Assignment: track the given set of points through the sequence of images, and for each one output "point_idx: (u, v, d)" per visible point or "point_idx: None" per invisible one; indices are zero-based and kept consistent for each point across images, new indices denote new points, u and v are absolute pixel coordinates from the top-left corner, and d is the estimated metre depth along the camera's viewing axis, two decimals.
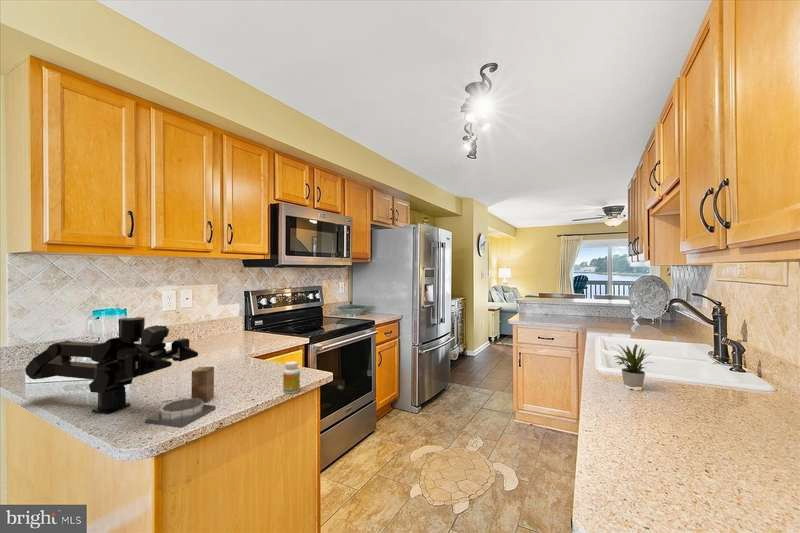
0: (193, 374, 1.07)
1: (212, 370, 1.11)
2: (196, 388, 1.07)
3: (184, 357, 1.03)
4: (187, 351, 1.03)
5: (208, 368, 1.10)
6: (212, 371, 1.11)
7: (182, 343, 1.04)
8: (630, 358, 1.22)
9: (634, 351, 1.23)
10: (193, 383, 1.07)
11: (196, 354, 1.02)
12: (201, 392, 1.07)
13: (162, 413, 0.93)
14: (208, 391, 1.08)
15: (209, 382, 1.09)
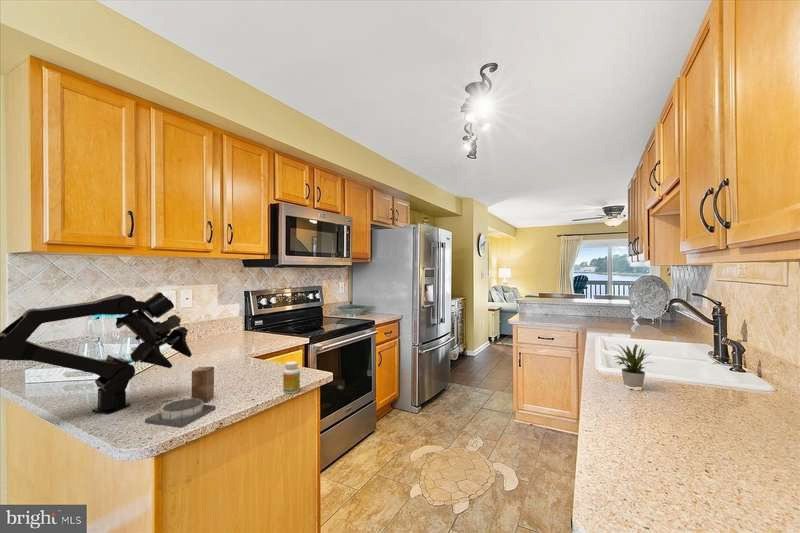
0: (193, 374, 1.07)
1: (212, 370, 1.11)
2: (196, 388, 1.07)
3: (177, 348, 1.13)
4: (183, 347, 1.13)
5: (208, 368, 1.10)
6: (212, 371, 1.11)
7: (183, 336, 1.13)
8: (630, 358, 1.22)
9: (634, 351, 1.23)
10: (193, 383, 1.07)
11: (190, 355, 1.13)
12: (201, 392, 1.07)
13: (162, 413, 0.93)
14: (208, 391, 1.08)
15: (209, 382, 1.09)
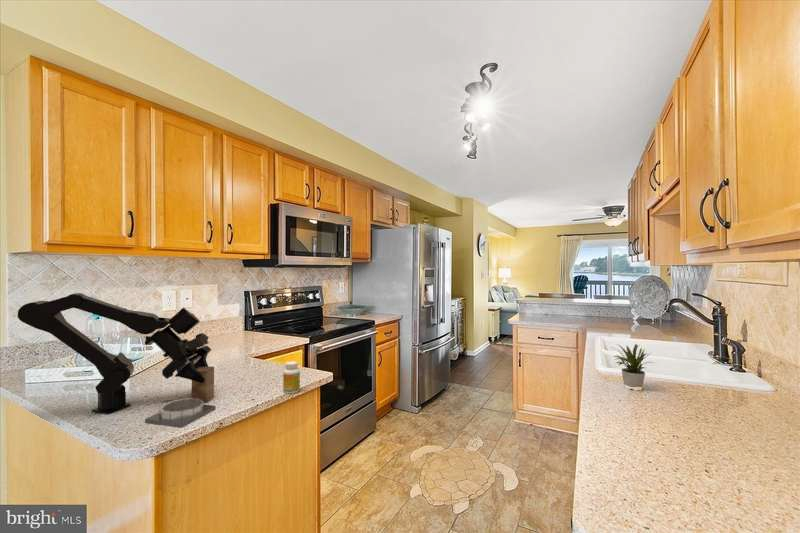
0: None
1: (212, 369, 1.11)
2: (196, 388, 1.07)
3: None
4: None
5: (208, 368, 1.10)
6: (212, 371, 1.11)
7: (204, 356, 1.13)
8: (630, 358, 1.22)
9: (634, 351, 1.23)
10: (193, 383, 1.07)
11: None
12: (201, 392, 1.07)
13: (162, 413, 0.93)
14: (208, 391, 1.08)
15: (210, 382, 1.09)
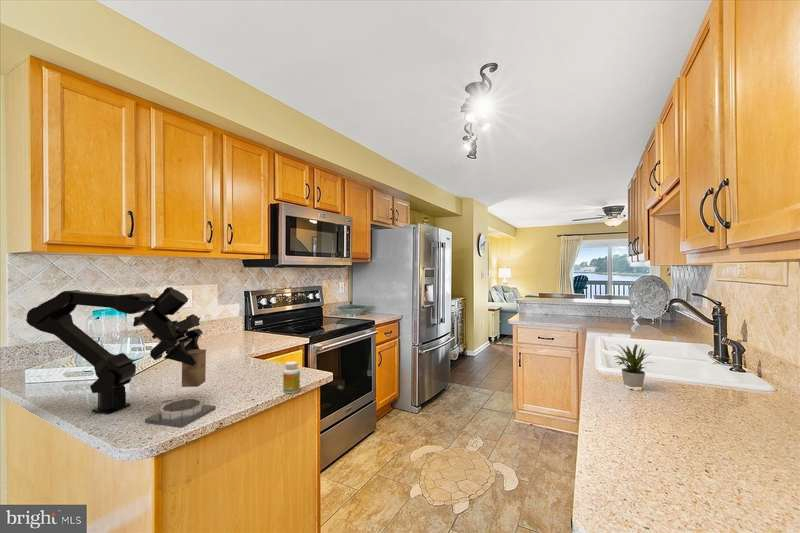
0: None
1: (204, 352, 1.06)
2: (186, 371, 1.02)
3: None
4: None
5: (200, 351, 1.05)
6: (204, 354, 1.06)
7: (195, 339, 1.08)
8: (630, 358, 1.22)
9: (634, 351, 1.23)
10: (183, 366, 1.02)
11: None
12: (192, 375, 1.02)
13: (162, 413, 0.93)
14: (199, 374, 1.03)
15: (201, 365, 1.04)
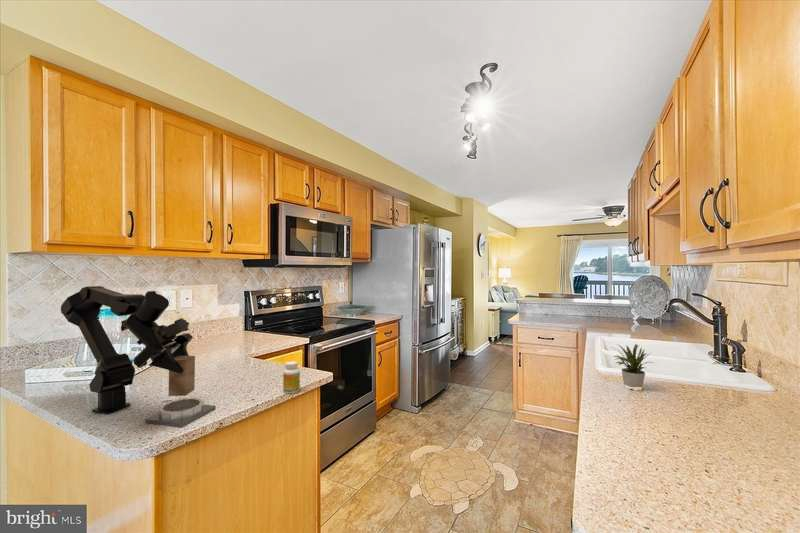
0: None
1: (193, 359, 1.00)
2: (174, 379, 0.96)
3: None
4: None
5: (188, 357, 0.98)
6: (193, 361, 0.99)
7: (184, 345, 1.01)
8: (630, 358, 1.22)
9: (634, 351, 1.23)
10: (170, 373, 0.96)
11: None
12: (179, 384, 0.96)
13: (162, 413, 0.93)
14: (187, 383, 0.97)
15: (189, 373, 0.98)
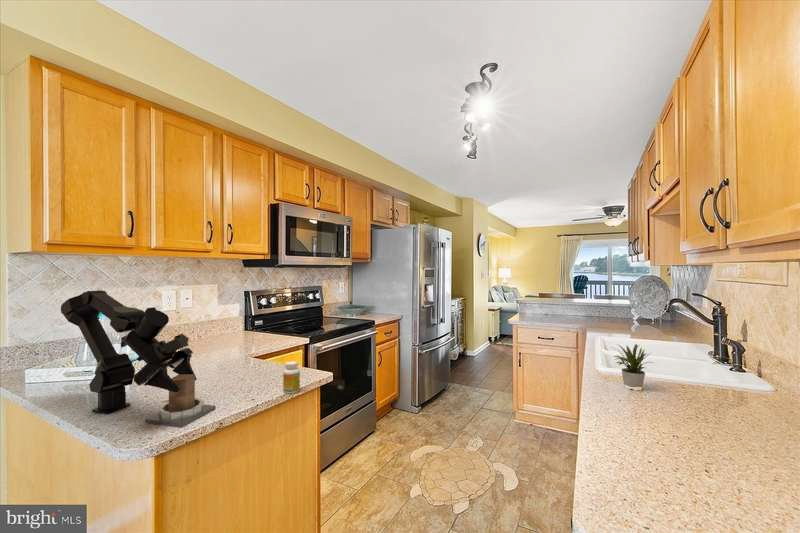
0: None
1: (192, 378, 0.99)
2: (174, 399, 0.96)
3: (180, 371, 1.03)
4: (188, 370, 1.02)
5: (188, 376, 0.98)
6: (192, 379, 0.99)
7: (188, 358, 1.03)
8: (630, 358, 1.22)
9: (634, 351, 1.23)
10: (170, 393, 0.96)
11: None
12: (179, 403, 0.96)
13: (162, 413, 0.93)
14: (187, 402, 0.97)
15: (189, 392, 0.98)
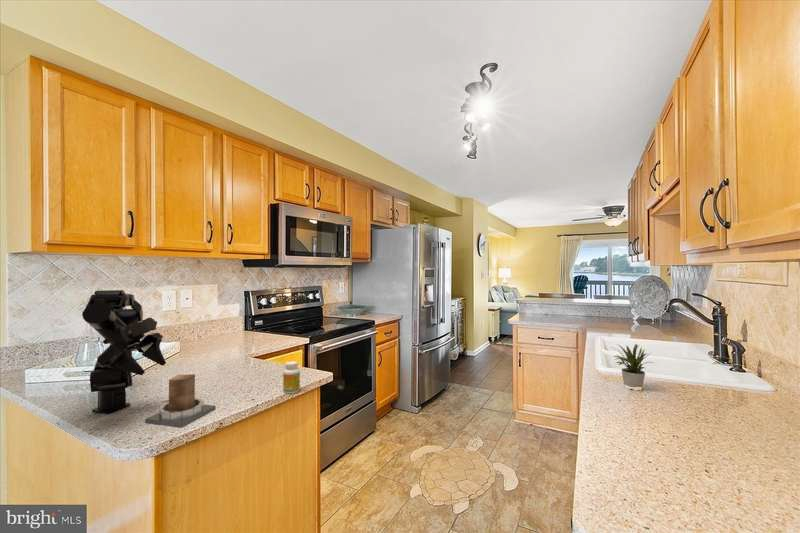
0: (170, 383, 0.96)
1: (192, 378, 0.99)
2: (174, 399, 0.96)
3: (149, 355, 1.02)
4: (157, 354, 1.02)
5: (188, 376, 0.98)
6: (192, 379, 0.99)
7: (157, 342, 1.03)
8: (630, 358, 1.22)
9: (634, 351, 1.23)
10: (170, 393, 0.96)
11: (164, 363, 1.02)
12: (179, 403, 0.96)
13: (162, 413, 0.93)
14: (187, 402, 0.97)
15: (189, 392, 0.98)
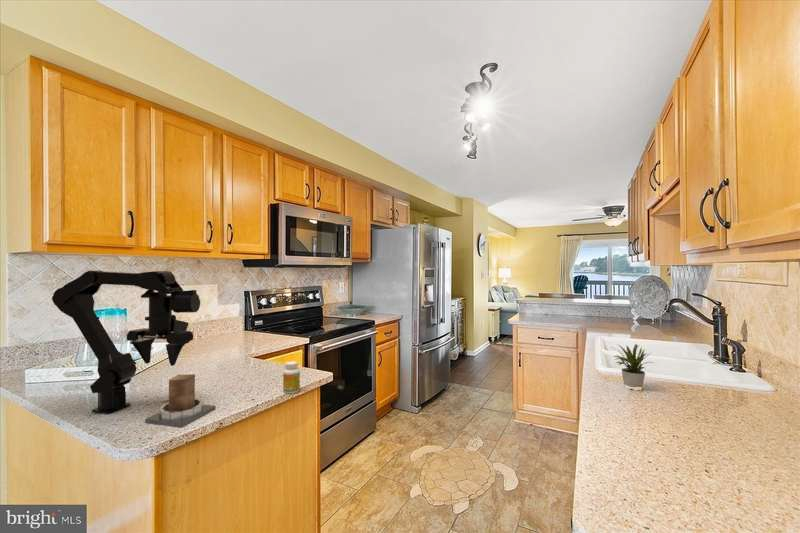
0: (170, 383, 0.96)
1: (192, 378, 0.99)
2: (174, 399, 0.96)
3: (142, 348, 1.03)
4: (149, 350, 1.05)
5: (188, 376, 0.98)
6: (192, 379, 0.99)
7: None
8: (630, 358, 1.22)
9: (634, 351, 1.23)
10: (170, 393, 0.96)
11: (147, 362, 1.04)
12: (179, 403, 0.96)
13: (162, 413, 0.93)
14: (187, 402, 0.97)
15: (189, 392, 0.98)
